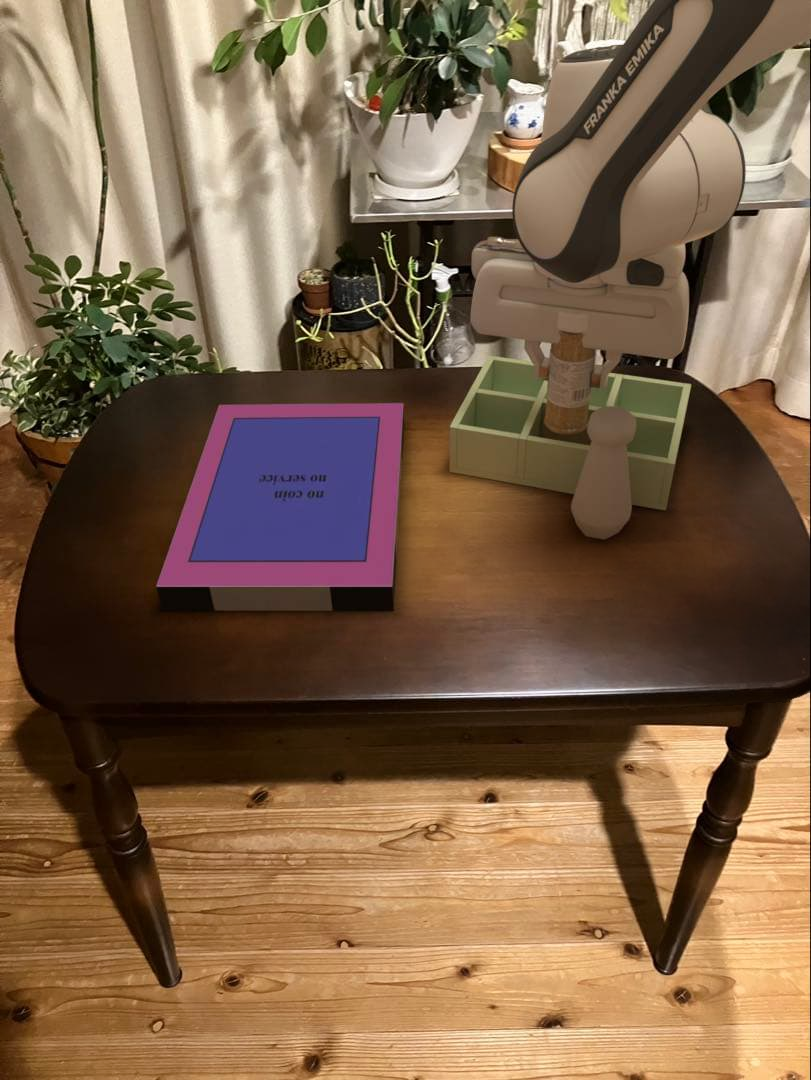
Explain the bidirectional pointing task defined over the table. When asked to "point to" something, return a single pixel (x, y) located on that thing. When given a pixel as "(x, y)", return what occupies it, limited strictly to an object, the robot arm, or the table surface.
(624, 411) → the salt shaker
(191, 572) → the book
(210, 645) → the table surface
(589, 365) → the sprinkles bottle
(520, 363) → the rack
